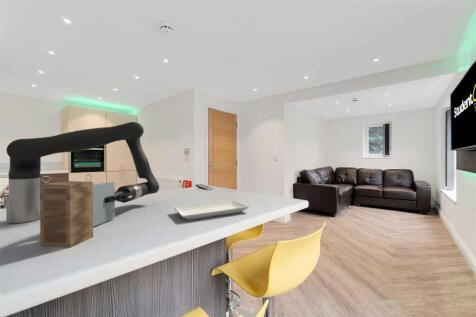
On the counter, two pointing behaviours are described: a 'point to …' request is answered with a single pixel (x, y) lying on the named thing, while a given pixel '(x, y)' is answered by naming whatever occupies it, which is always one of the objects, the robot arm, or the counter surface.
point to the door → (103, 203)
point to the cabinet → (66, 213)
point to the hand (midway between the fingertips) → (101, 200)
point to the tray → (210, 209)
